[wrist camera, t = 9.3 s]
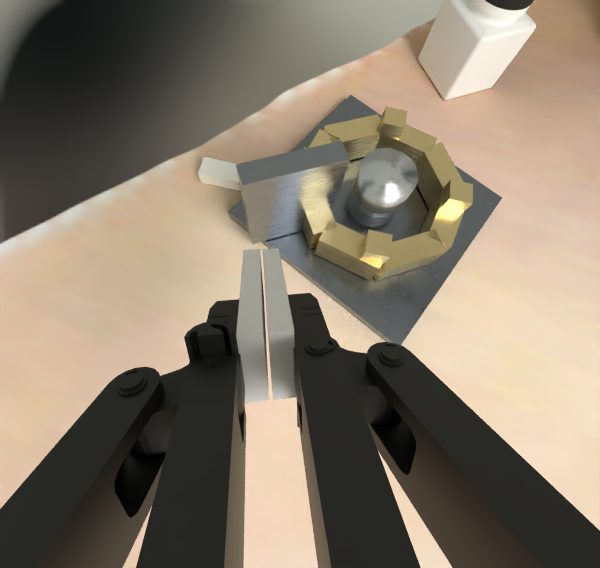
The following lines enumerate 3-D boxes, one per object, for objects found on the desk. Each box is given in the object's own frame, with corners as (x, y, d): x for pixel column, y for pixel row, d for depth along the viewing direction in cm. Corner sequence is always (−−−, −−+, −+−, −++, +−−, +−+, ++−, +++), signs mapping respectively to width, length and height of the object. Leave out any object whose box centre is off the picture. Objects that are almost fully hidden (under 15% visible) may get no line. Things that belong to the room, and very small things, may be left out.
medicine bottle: (491, 89, 38) (586, -37, 26) (443, 102, 36) (520, -24, 25) (462, 48, 39) (539, -86, 28) (416, 59, 38) (475, -76, 27)
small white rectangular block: (244, 174, 31) (243, 165, 30) (240, 190, 31) (238, 181, 29) (207, 166, 31) (203, 156, 30) (201, 182, 31) (197, 173, 29)
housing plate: (348, 102, 35) (362, 49, 29) (495, 202, 33) (542, 166, 27) (229, 217, 30) (218, 179, 24) (394, 348, 27) (426, 341, 21)
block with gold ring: (408, 128, 33) (454, 41, 25) (472, 250, 29) (554, 198, 21) (229, 169, 30) (210, 86, 21) (275, 312, 26) (274, 282, 18)
